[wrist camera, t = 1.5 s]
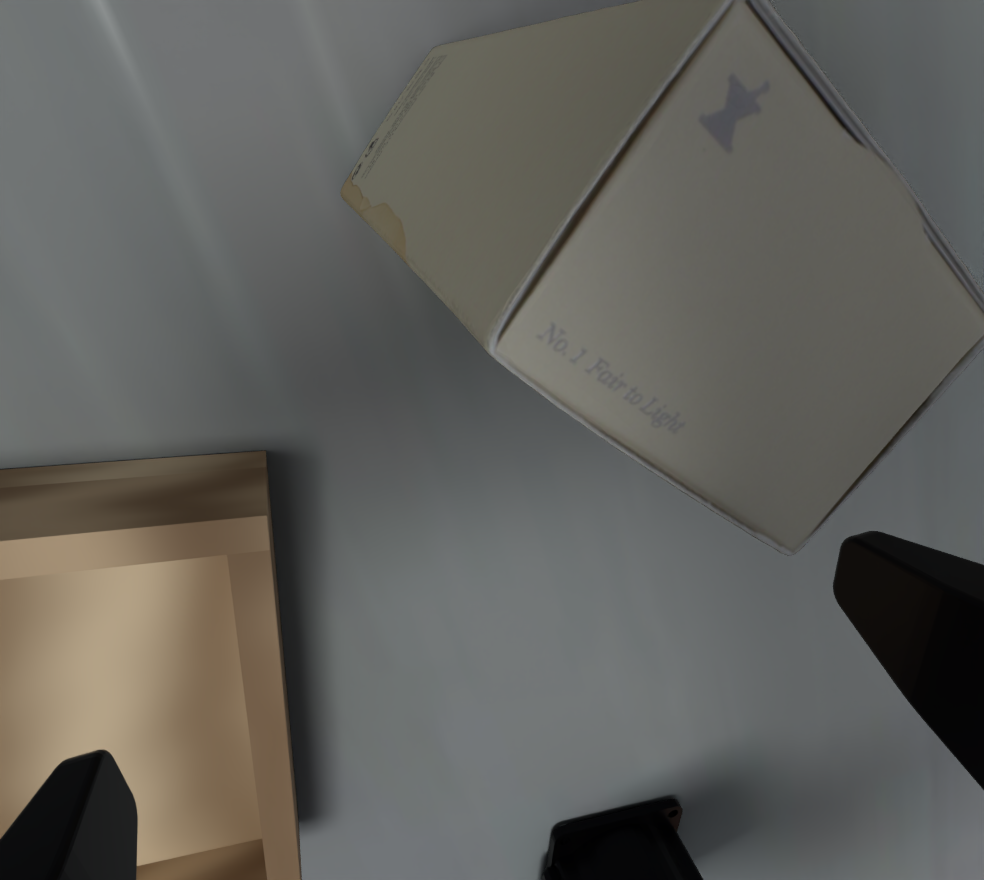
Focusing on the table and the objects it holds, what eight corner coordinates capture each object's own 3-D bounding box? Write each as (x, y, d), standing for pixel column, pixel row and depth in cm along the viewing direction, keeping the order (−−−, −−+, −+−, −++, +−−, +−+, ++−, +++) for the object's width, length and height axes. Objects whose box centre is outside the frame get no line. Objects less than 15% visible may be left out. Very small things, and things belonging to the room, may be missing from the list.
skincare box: (334, 193, 17) (445, 350, 7) (437, 34, 16) (743, -61, 6) (518, 328, 20) (790, 578, 10) (614, 199, 19) (1022, 326, 9)
